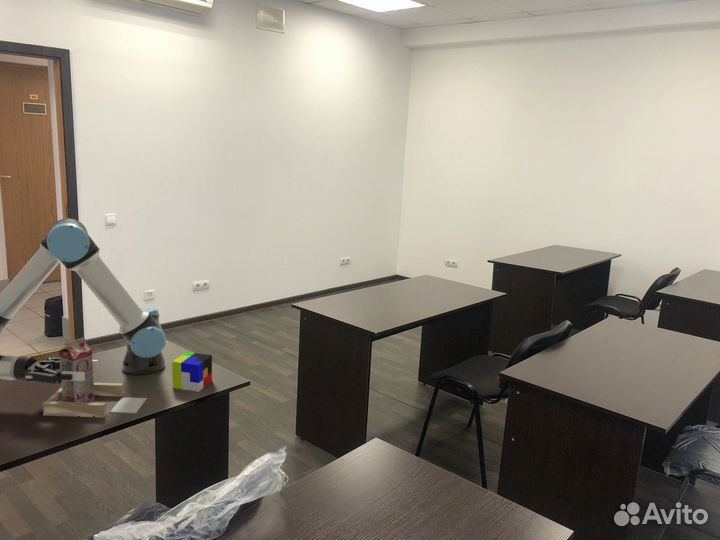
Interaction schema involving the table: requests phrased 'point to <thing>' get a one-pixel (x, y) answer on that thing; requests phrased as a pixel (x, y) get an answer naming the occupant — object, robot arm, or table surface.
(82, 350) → the juice carton
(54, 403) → the open wooden frame
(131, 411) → the mat
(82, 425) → the table surface
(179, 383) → the puzzle toy
